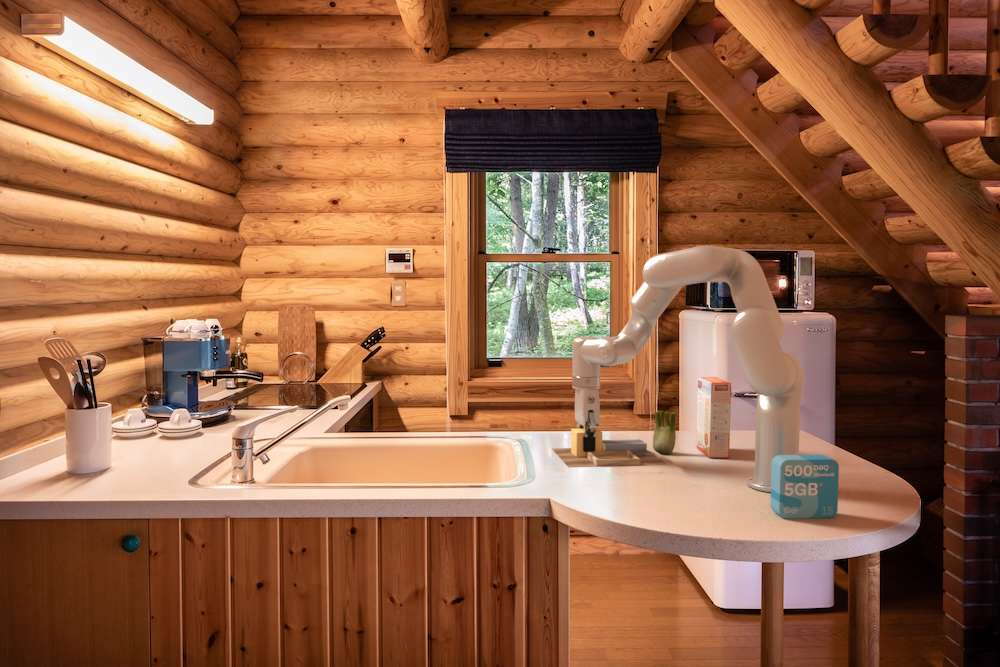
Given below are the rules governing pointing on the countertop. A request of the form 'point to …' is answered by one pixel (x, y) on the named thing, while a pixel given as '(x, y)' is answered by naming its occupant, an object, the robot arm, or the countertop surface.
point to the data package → (804, 486)
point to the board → (612, 455)
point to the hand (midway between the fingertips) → (585, 448)
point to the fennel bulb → (664, 433)
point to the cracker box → (713, 417)
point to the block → (578, 441)
